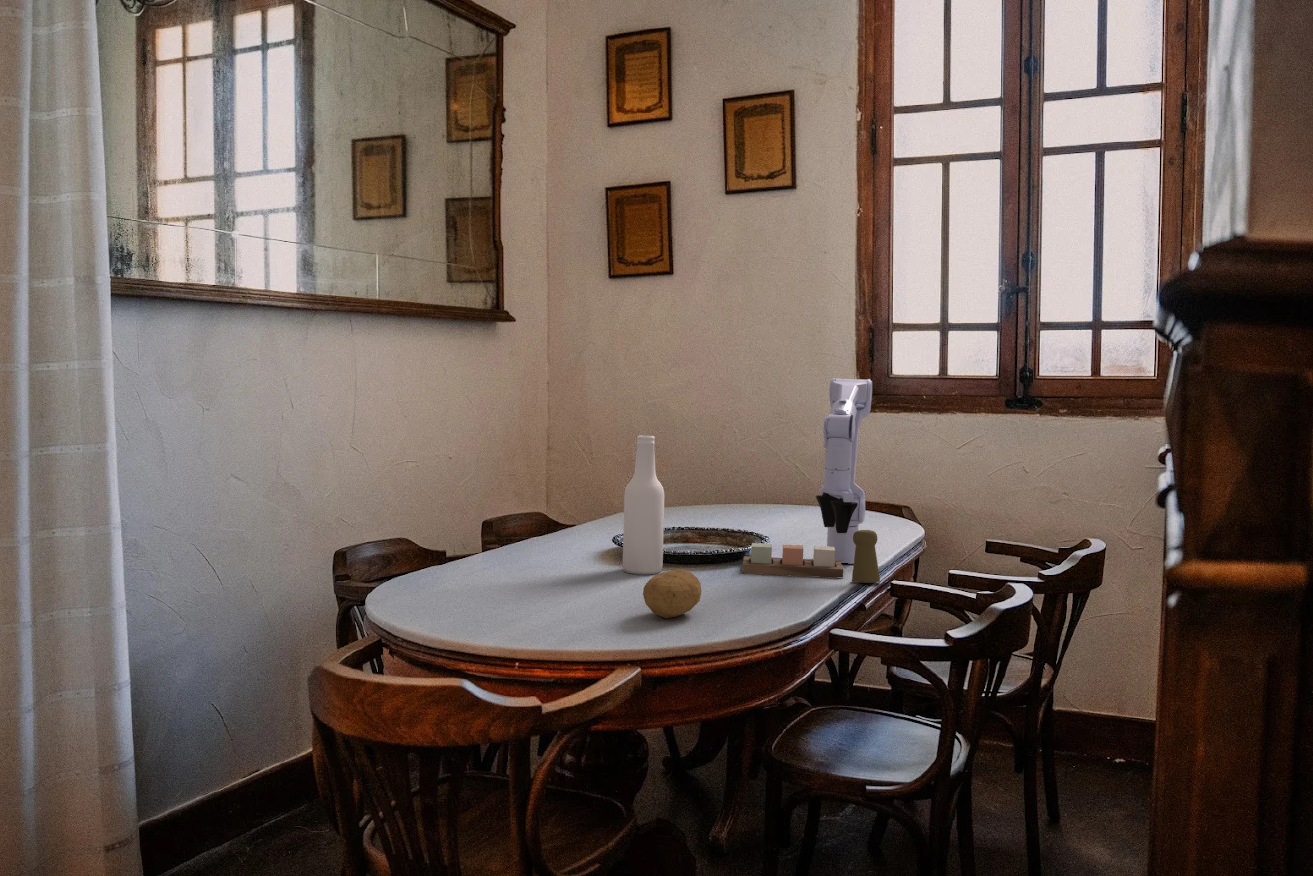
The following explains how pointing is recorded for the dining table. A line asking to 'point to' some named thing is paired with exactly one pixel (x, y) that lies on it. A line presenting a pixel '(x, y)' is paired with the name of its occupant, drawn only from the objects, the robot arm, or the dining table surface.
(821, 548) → the cream button
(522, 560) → the dining table surface
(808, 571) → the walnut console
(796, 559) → the terracotta button
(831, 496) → the robot arm
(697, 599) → the potato
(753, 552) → the sage button
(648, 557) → the alcohol
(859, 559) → the cork
